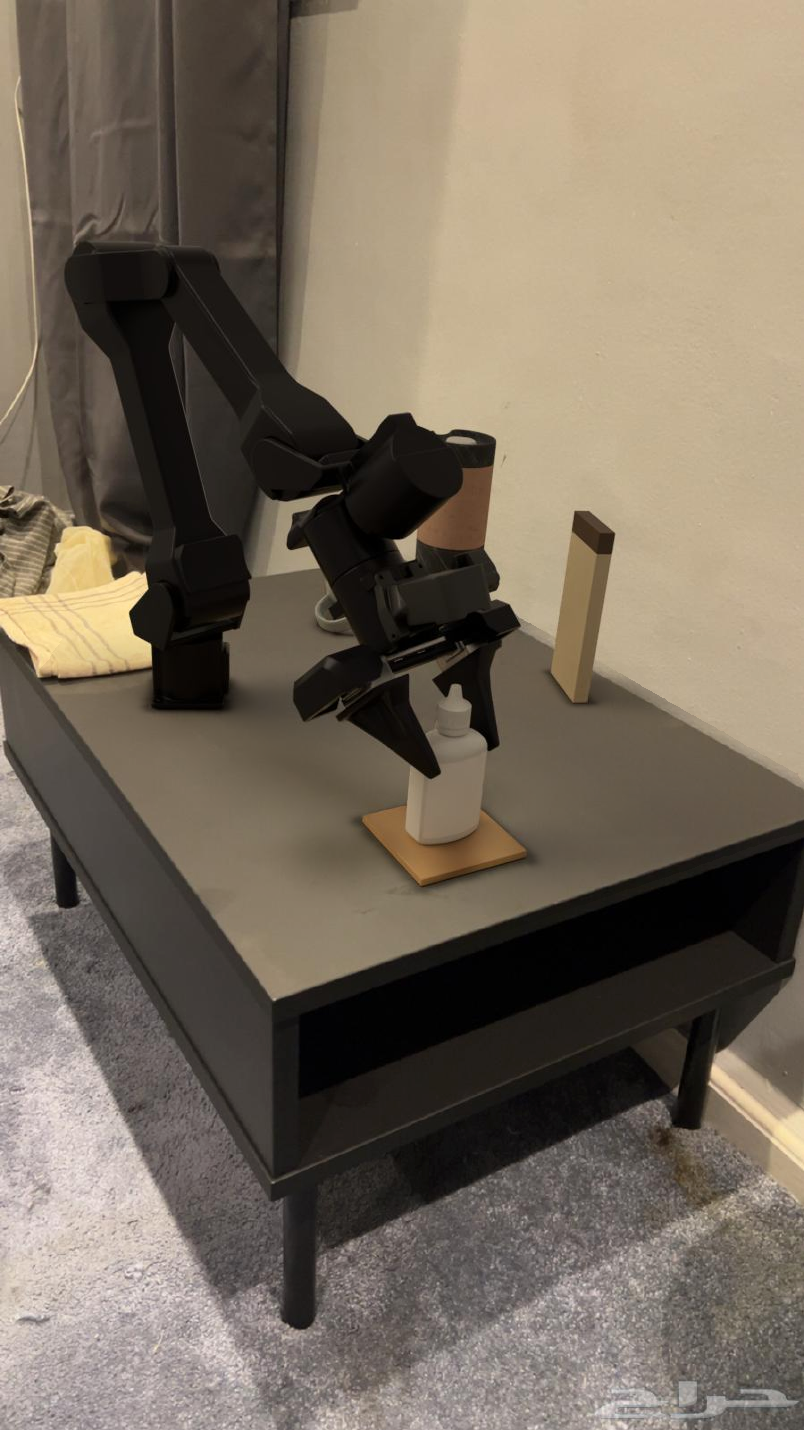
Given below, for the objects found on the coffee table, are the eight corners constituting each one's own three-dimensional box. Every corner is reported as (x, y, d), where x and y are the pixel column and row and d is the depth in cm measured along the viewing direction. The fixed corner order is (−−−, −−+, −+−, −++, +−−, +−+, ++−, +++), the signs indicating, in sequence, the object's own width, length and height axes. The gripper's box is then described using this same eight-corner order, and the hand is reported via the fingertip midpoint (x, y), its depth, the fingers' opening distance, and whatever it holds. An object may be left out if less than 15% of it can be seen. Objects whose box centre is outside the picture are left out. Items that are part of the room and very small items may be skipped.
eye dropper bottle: (482, 848, 77) (500, 701, 72) (405, 846, 77) (417, 698, 71) (475, 816, 81) (492, 674, 75) (403, 814, 80) (414, 671, 75)
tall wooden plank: (572, 703, 102) (599, 532, 94) (550, 672, 108) (574, 510, 100) (587, 702, 102) (615, 533, 94) (564, 672, 108) (589, 510, 100)
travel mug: (470, 628, 117) (492, 448, 108) (403, 617, 118) (419, 439, 109) (480, 605, 124) (502, 434, 115) (417, 595, 125) (433, 425, 116)
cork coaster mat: (421, 886, 73) (421, 879, 73) (362, 821, 80) (362, 815, 80) (526, 857, 77) (527, 850, 77) (461, 798, 84) (462, 791, 84)
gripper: (327, 538, 64) (446, 765, 63) (516, 494, 77) (619, 683, 75) (245, 619, 72) (348, 821, 71) (428, 567, 85) (519, 738, 83)
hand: (465, 762), depth 75 cm, fingers open, 6 cm apart
